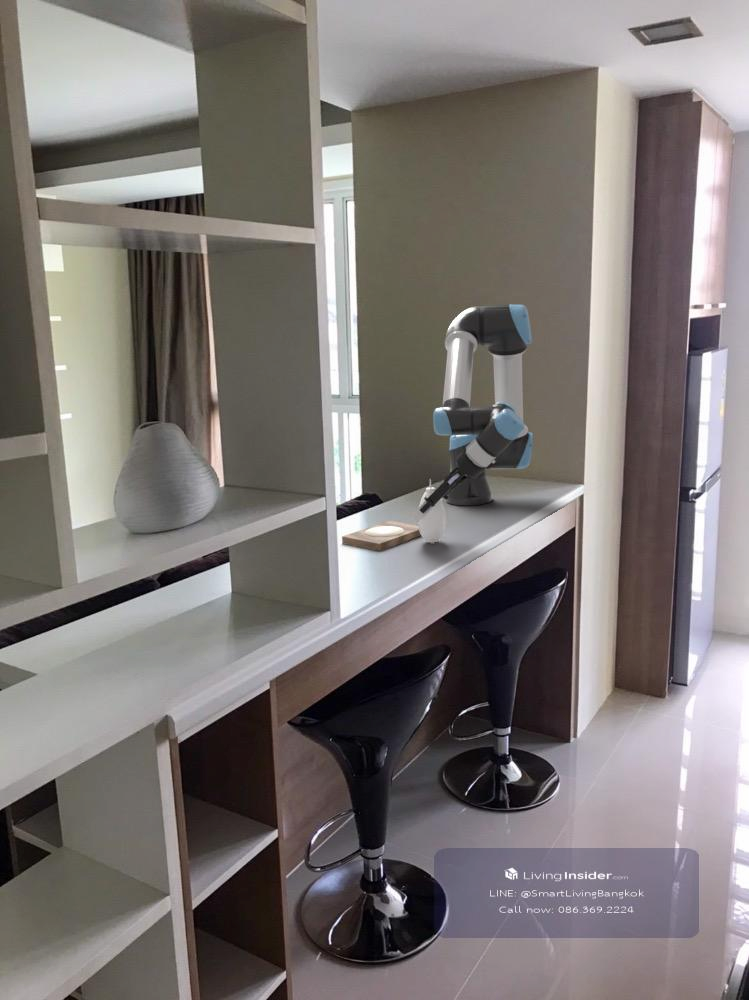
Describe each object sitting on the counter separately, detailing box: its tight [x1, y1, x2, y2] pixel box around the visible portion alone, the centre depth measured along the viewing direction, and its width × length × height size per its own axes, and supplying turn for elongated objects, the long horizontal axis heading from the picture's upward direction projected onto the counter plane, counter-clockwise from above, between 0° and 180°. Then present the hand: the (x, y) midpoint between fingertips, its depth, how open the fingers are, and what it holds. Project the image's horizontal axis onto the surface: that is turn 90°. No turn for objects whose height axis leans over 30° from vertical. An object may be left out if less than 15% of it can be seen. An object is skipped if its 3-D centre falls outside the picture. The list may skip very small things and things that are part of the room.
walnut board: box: [341, 520, 421, 552], centre depth 235 cm, size 20×14×2 cm
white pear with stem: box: [417, 478, 447, 544], centre depth 226 cm, size 8×8×18 cm
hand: (419, 515), depth 228 cm, fingers open, 8 cm apart
